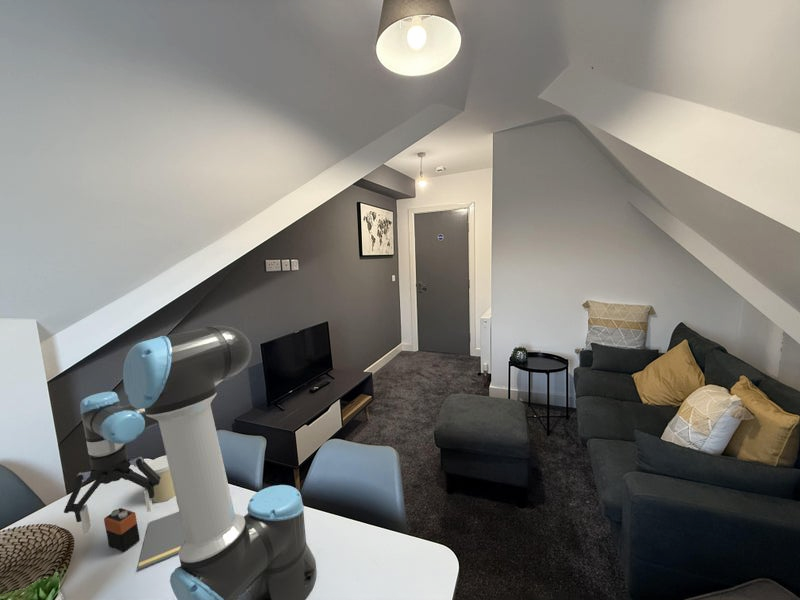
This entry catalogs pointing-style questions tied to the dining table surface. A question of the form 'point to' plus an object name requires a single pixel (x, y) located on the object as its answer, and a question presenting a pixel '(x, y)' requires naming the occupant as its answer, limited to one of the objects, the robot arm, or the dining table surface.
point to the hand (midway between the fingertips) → (119, 518)
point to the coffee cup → (162, 480)
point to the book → (162, 540)
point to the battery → (121, 529)
